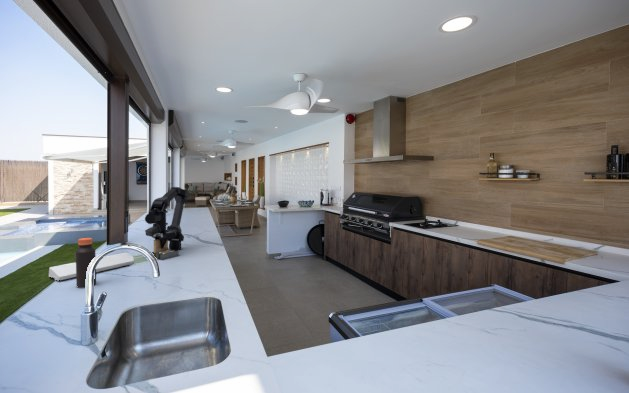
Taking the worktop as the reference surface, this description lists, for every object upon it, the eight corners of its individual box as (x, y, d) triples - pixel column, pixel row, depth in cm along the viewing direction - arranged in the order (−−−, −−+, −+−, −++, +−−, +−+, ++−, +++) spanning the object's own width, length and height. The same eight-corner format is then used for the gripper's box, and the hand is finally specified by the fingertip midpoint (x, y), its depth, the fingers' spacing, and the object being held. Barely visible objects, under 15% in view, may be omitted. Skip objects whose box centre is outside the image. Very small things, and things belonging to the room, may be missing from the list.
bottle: (86, 288, 131) (84, 240, 130) (72, 287, 132) (70, 240, 131) (100, 283, 138) (99, 237, 136) (87, 282, 139) (85, 237, 138)
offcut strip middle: (168, 255, 185) (168, 250, 185) (170, 255, 184) (170, 250, 184) (159, 257, 180) (158, 252, 179) (160, 257, 179) (160, 252, 179)
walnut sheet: (166, 254, 187) (165, 237, 186) (167, 254, 186) (167, 237, 186) (153, 257, 180) (153, 239, 179) (155, 257, 179) (155, 240, 179)
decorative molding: (135, 268, 168) (125, 260, 173) (137, 259, 167) (126, 252, 172) (58, 286, 139) (48, 276, 143) (59, 277, 138) (49, 267, 142)
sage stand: (144, 259, 178) (144, 252, 178) (154, 260, 175) (153, 254, 174) (125, 263, 168) (125, 256, 168) (135, 265, 165) (134, 258, 165)
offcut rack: (166, 254, 190) (166, 248, 190) (180, 256, 185) (180, 250, 184) (148, 258, 179) (148, 252, 179) (162, 261, 174) (162, 255, 174)
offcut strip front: (171, 255, 184) (171, 250, 183) (173, 256, 183) (173, 251, 183) (162, 258, 178) (162, 253, 178) (164, 258, 177) (164, 253, 177)
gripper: (136, 221, 179) (137, 249, 180) (159, 224, 171) (159, 253, 172) (154, 219, 189) (154, 245, 190) (176, 222, 181) (176, 249, 182)
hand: (160, 248), depth 183 cm, fingers closed on walnut sheet, 2 cm apart
